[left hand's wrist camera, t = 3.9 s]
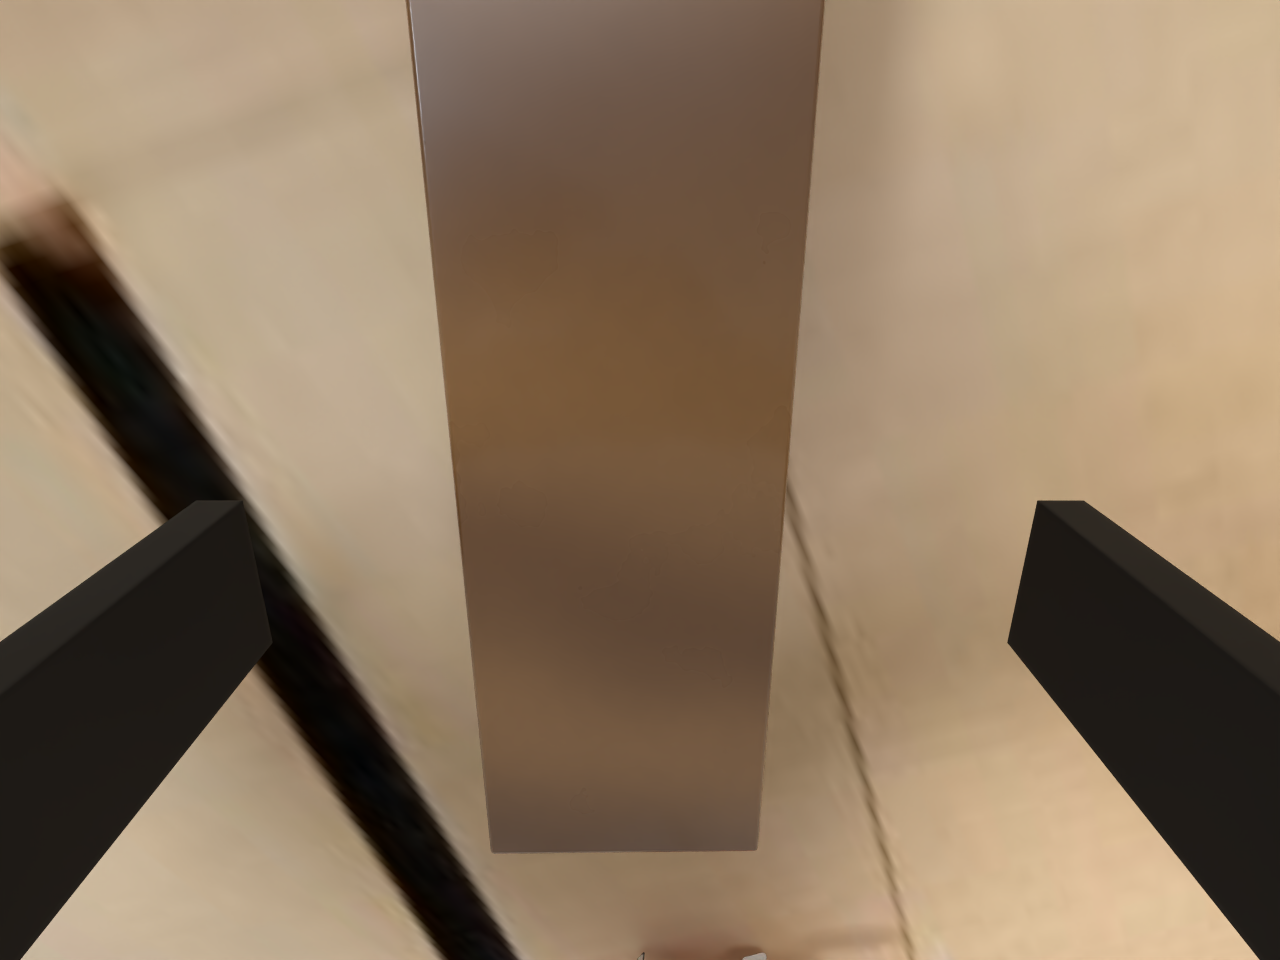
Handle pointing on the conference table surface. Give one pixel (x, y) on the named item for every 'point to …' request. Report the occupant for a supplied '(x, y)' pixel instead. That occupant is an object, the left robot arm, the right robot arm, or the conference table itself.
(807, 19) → the post
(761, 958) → the fish
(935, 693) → the conference table surface
